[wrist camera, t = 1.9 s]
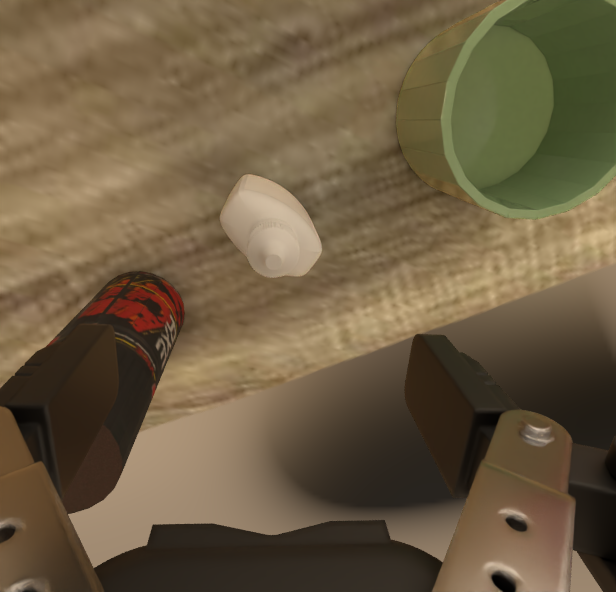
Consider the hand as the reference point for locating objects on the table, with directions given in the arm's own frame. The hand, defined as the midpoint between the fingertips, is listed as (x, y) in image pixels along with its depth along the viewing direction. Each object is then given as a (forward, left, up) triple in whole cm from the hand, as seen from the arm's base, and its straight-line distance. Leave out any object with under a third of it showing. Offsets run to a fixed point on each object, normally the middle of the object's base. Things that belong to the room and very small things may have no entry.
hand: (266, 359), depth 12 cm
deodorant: (+7, -8, -20) cm, 23 cm away
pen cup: (-8, +13, -19) cm, 25 cm away
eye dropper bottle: (-1, 0, -20) cm, 20 cm away
